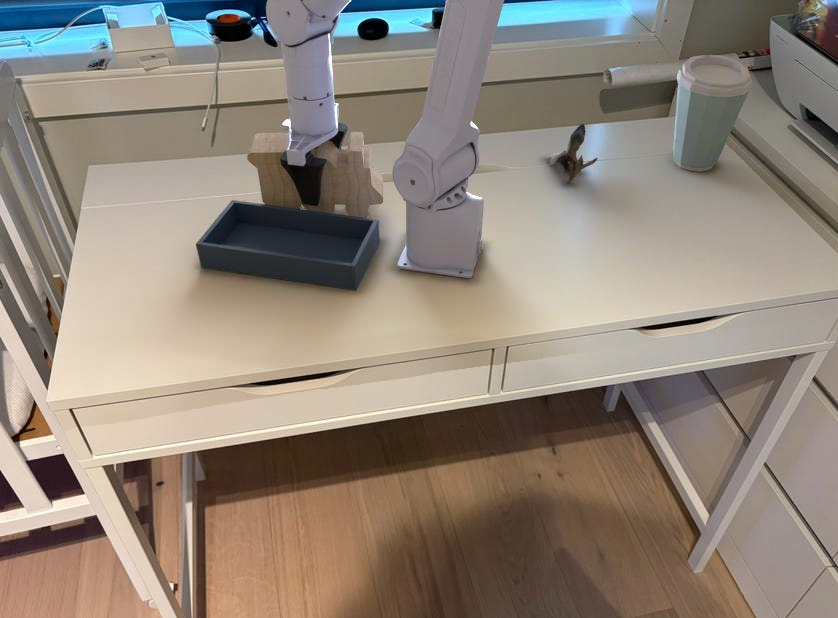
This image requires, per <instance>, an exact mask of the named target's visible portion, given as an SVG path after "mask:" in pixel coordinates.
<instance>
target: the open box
mask: <svg viewBox="0 0 838 618" xmlns="http://www.w3.org/2000/svg"><path fill="white" fill-rule="evenodd" d="M379 244H380V220H379V219H378V218H370V217H365V218H363V217H356V216H350V215H349V214H348V215H347V214H342V213H341V214H340V213H334V212H333V213H326V212H319V211H311V210H306V209H305V208H304V209H303V208H300V209H296V208H289V207H281V206H274V205H267V204H264V203H259V202H252V201H251V202H250V201H244V200H243V201H242V200H236V199H231V201H230V202H229V203H228V204H227V205H226V206H225V208H224V209H223V210H222V212H221V213H220V214H219V215H218V216H217V218H216V219H215V220H214V221H213V222H212V224H210V226H209V227H208V228H207V230H206V231H205V232H204V233H203V234H202V236H201V237H200V238H199V239H198V240H197V242H196V243H195V247H196V252H197V255H198V260H199V264H200V268H201V269H207V270H212V271H219V272H226V273H227V272H228V273H232V274H233V273H235V274H241V275H248V276H254V277H255V276H256V277H262V278H267V279H274V280H275V279H276V280H282V281H288V282H295V283H303V284H308V285H316V286H321V287H322V286H323V287H329V288H336V289H344V290H350V291H357V290H358V288H359V286H360V284H361V283H362V279H363V278H364V275H365V274H366V272H367V269H368V268H369V266H370V264H371V261H372V259H373V257H374V255H375V253H376V251H377V249H378V247H379Z"/></svg>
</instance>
